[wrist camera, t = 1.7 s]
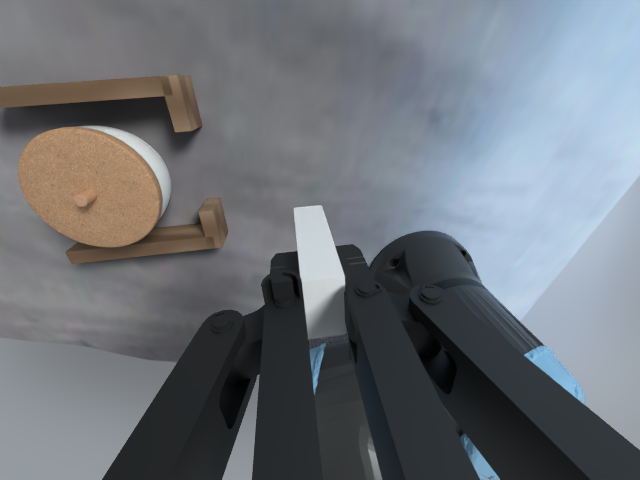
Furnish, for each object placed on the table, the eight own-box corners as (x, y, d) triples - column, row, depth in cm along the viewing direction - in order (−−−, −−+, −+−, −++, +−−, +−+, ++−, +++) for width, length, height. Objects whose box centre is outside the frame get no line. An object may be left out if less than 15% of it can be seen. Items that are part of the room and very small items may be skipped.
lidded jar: (87, 96, 28) (5, 100, 19) (198, 151, 31) (168, 174, 23) (67, 190, 32) (-8, 227, 23) (168, 229, 35) (133, 274, 27)
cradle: (228, 231, 36) (222, 247, 32) (92, 246, 35) (71, 264, 31) (190, 76, 28) (177, 74, 24) (12, 88, 27) (-29, 89, 23)
